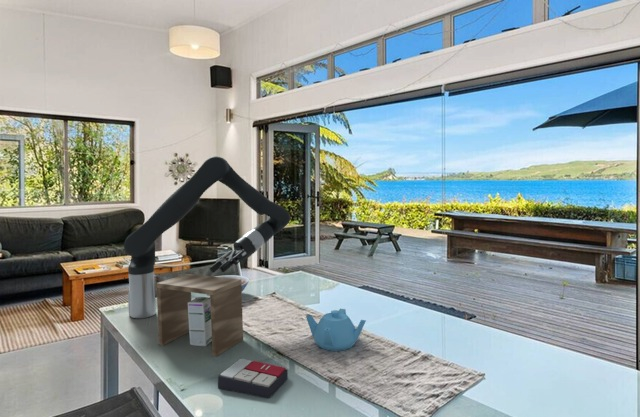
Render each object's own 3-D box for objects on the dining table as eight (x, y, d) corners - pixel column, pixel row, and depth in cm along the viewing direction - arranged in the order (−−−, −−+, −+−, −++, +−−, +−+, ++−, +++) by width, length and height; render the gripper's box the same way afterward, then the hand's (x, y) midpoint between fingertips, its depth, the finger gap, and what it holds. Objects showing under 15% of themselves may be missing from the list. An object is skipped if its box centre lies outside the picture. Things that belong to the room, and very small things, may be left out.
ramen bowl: (262, 294, 192) (261, 277, 191) (225, 308, 173) (225, 289, 172) (222, 287, 205) (222, 271, 205) (185, 299, 186) (184, 281, 185)
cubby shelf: (159, 345, 136) (156, 283, 135) (189, 330, 149) (186, 273, 147) (216, 356, 127) (214, 290, 125) (243, 339, 139) (241, 279, 138)
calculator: (269, 386, 102) (217, 373, 108) (269, 402, 103) (217, 389, 108) (288, 366, 113) (240, 355, 118) (288, 381, 113) (239, 370, 118)
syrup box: (205, 346, 134) (204, 302, 133) (189, 345, 136) (187, 301, 134) (213, 339, 140) (212, 297, 139) (197, 338, 141) (196, 296, 140)
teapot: (368, 347, 132) (368, 314, 131) (326, 357, 125) (326, 322, 125) (344, 331, 146) (344, 301, 145) (305, 339, 139) (304, 308, 138)
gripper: (235, 237, 161) (202, 262, 152) (252, 233, 150) (218, 261, 141) (245, 253, 163) (213, 279, 154) (263, 250, 152) (230, 278, 142)
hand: (215, 270), depth 147 cm, fingers open, 8 cm apart
